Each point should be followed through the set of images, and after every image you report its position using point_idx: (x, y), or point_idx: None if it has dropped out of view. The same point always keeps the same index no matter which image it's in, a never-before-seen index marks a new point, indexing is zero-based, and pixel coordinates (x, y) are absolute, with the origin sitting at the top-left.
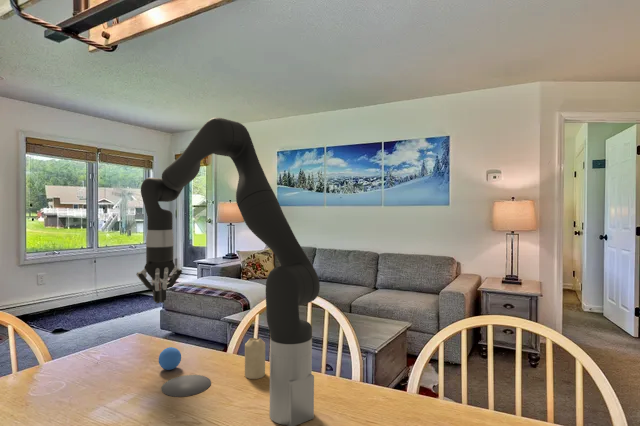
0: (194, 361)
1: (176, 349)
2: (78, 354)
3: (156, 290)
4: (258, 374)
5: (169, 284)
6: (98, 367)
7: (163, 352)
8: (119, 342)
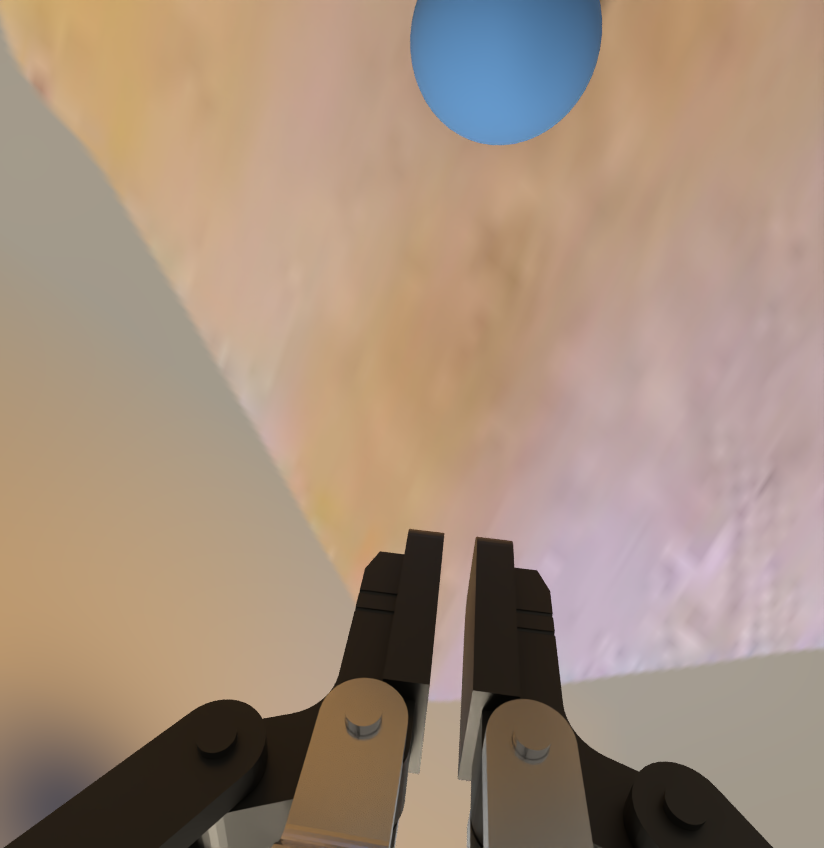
0: (299, 69)
1: (454, 3)
2: (764, 644)
3: (542, 714)
4: None
5: (242, 769)
6: (807, 413)
7: (576, 26)
8: None
